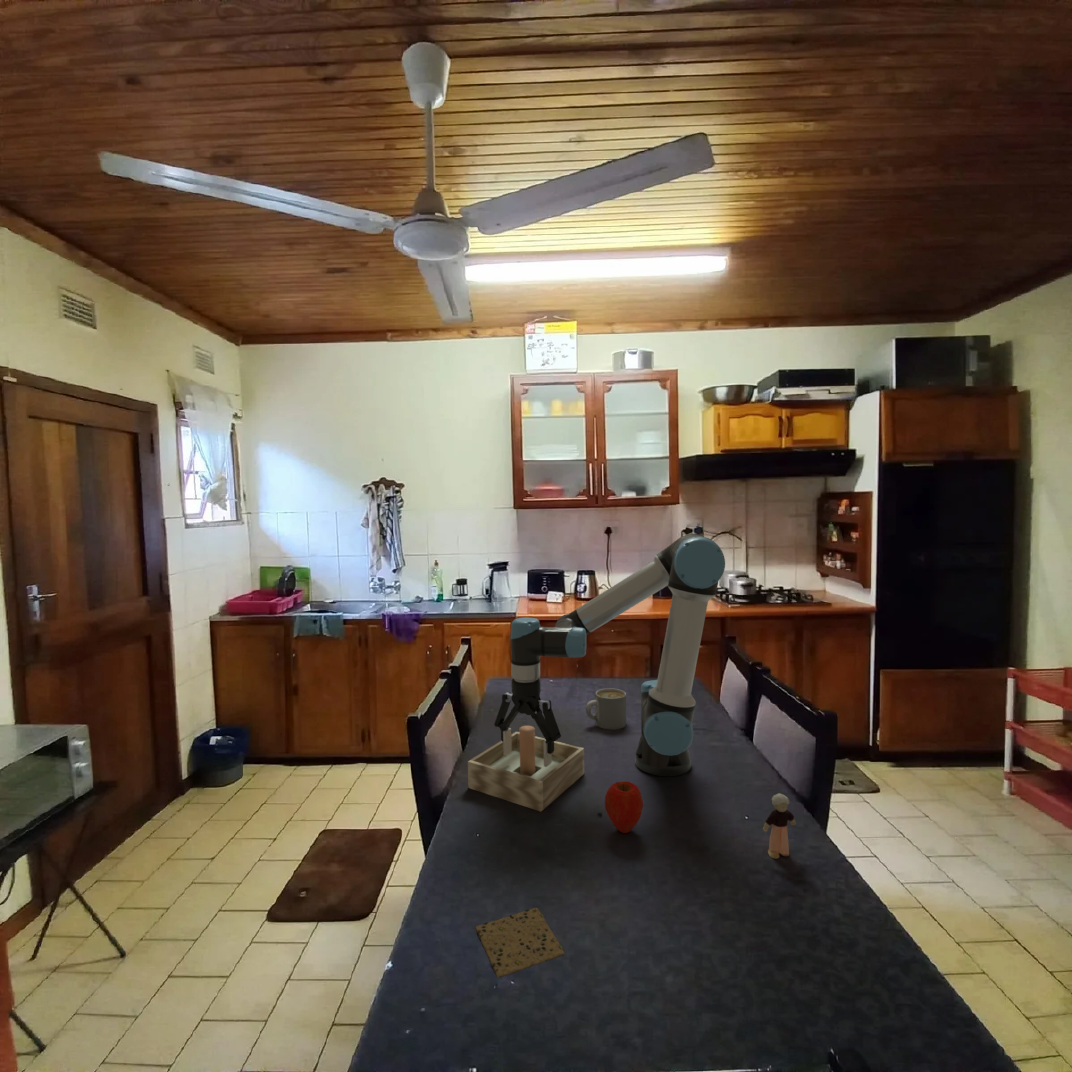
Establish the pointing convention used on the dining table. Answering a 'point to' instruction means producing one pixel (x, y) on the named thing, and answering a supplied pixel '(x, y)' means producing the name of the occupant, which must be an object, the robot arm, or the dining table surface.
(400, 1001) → the dining table surface
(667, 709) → the robot arm
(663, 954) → the dining table surface
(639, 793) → the apple
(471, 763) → the box
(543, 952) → the cookie
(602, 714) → the coffee mug
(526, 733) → the peg
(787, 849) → the grandmother figurine
